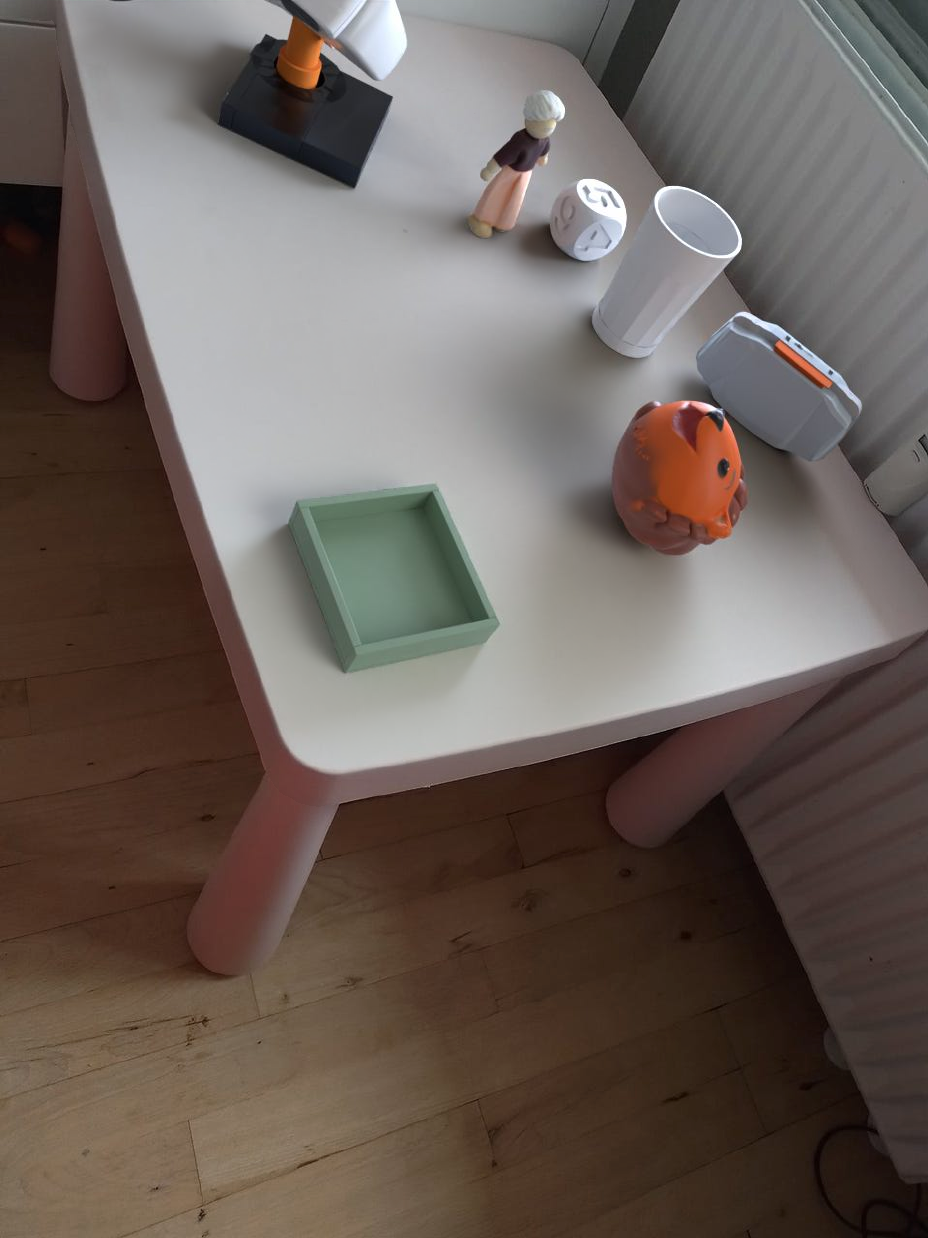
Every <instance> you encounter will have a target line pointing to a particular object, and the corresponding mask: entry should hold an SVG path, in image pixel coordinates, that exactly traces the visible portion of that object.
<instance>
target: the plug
mask: <svg viewBox="0 0 928 1238" xmlns="http://www.w3.org/2000/svg"><path fill="white" fill-rule="evenodd" d="M286 40H287V45H284V46H283V47H282V48H281V49H280V53H279V57H278V62H277V66H276V71H277V72H278V74H279V75H280V76H281V77H282V78H283V79H285V80H286V81H287V82H289V83H291V84H293V85H295V86H297V87H301V88H305V89H316V85H317V81H318V78H319V74H320V70H321V61H320V59H319V55H320V52H322V51H321V50H322V47H323V43H324V42H323V41H322V40H321V39H319V36H318V35H317V34H316V33H315V32H314V31H313V30H311V29H310V28H309V27H308V26H306V25H305V24H304V23H303V22H302V21H300V20H299V19H298V18H297V17H295V16H294V15H293V17H292V19H291V23H290V28H289V32H288V36H287V39H286Z"/></svg>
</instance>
